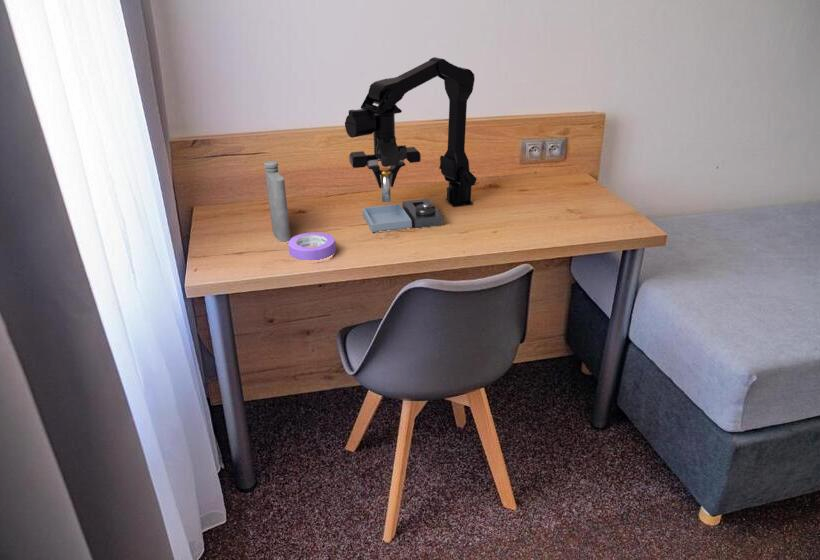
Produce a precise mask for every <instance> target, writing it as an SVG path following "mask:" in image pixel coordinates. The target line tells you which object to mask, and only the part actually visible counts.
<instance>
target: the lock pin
mask: <svg viewBox="0 0 820 560" xmlns="http://www.w3.org/2000/svg"><path fill="white" fill-rule="evenodd" d="M391 174H392V169H390V167H381V168H380V178H381V201H382V202H383V203H390V202H391V186H390V175H391Z"/></svg>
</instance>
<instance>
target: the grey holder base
mask: <svg viewBox="0 0 820 560" xmlns="http://www.w3.org/2000/svg"><path fill="white" fill-rule="evenodd" d="M401 203H402V208H403V209H404V210H405V212H406V213H407V215H408V216H409V217H410V219H411V220H412V224H413V225H412V227H413V228H414V227H415V228H419V229H423V228H422V227H427V228H432V227H431V226H436V227H442V226H441V225H444V224H443V223H444V222H443V220H444V215H443V214H442V213H441V212H440V211H439V209H438V208H437V207H436V205H434V204H433V203H432V201H431V200H430V199H429V198H424V199H413V200H405V201H404V200H403V201H402V202H401ZM415 228H414V229H415Z"/></svg>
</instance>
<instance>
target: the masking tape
mask: <svg viewBox="0 0 820 560" xmlns="http://www.w3.org/2000/svg"><path fill="white" fill-rule="evenodd" d="M290 238H291V239H290V240H289V242H288V250H289V256H290V255H291V256H292V257H294V258H296V259H299V260H310V261H311V260H320V259H324V258H327V257H329V256H331V255H333V254H334V253H335V251H336V241H335V240H336V239H335V237H334V236H333V235H331V234H329V233H325V232H317V231H316V232H304V233H300V234H296V235H294V236H292V237H290ZM313 245H315V246H316V245H317V247H306V246H313ZM335 254H336V253H335Z"/></svg>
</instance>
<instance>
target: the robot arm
mask: <svg viewBox="0 0 820 560" xmlns="http://www.w3.org/2000/svg"><path fill="white" fill-rule="evenodd" d="M436 77H438V78H439V79H441V80H443V82H444V83H443V84H444V90H445V93H446V95H447V97H448V101H449V102H448V103H449V108H448V126H447V127H448V128H447V129H448V130H447V131H448V132H447V133H448V134H447V150H446V152H445V153H444V155H440V157H439V161H440V162H439V164H440V165H439V168H438V169H439V170H440V172H441V174H442V176H444V180H445V182H448V187H446V198H445V199H446V201H447V202H448V203H449V204H450V205H451V206H452V207H460V206H461V207H462V206H470V205H471V206H472V205H473V204H474V202H473V201H472V186H475V185H476V181H477V177H476V176H475V175H474V174H473V173H472V172H471V171H470V162H469V159H468V156H467V154H466V152H465V145H466V124H467V104H468V100H469V99H470V97H471V94H473V91H474V90H473V89H474V84H475V73H473V71H472V70H471V69H469V68H465V67H461V66H458V65H455V64H453V63H451V62H449V61H448V60H446V59H445V58H440V57H435V56H434V57H432V58H429V60H427V61H425V62H423V63H421V64H419V65H418V66H415V67H414V68H411V69H409V70H408V71H406V72H403V73H401V74H400V75H398V76H395V77H389V78H383V79H380V80H376V81H373V82H372V83H371V84H370V86H369V88H368V93H367V94H366V97H365V98H364V100H363V101H362V104H361V106H360V108H359V109H349V110H348V115H347V116H346V118H345V122H344V127H345V131H346V134H347V135H348V137H349V138H350V139H351V138H352V139H353V138H359V137H364V136H369V135H373V154H366V153H365V151H352V152H350V154H349V156H348V159H349V163H350V166H351V167H352V168H354V169H358V168H359V169H360V168H365V167H367V168H368V169H369V170H372V172H373V175H374V178H375V180H376V183H377V184H378V187H379V189H382V184H381V175H380V169H381V168H380V165H379V164H378V163H379V162H380V164H381V166H382V167H383V168H390V169H392V174H391V175H390V188H393V187H394V185H395V181H396V178H397V175H398V173H399V170H400V169H402V167H405V166H406V163H405V160H407V161H408V163H410V164H411V163H420V162H421V159H422V157H421V152H420V151H419V150H418V149H417V148H416V147H415V146H408V147H407V146H406V145H405V144H404V145H398V144H397V139H396V122H395V119H396V118H395V114H401V113H403V111H402V109H401V108H399V107H398V105H397V104H398V103H399V102H400V101H401V100H402V99H404V96H405V94H407V93H408V92H410V91H412V90H413V89H415V88H417V87H420V86H421V85H423V84H425V83H427V82H429V81H431V80H432V79H434V78H436Z"/></svg>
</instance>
